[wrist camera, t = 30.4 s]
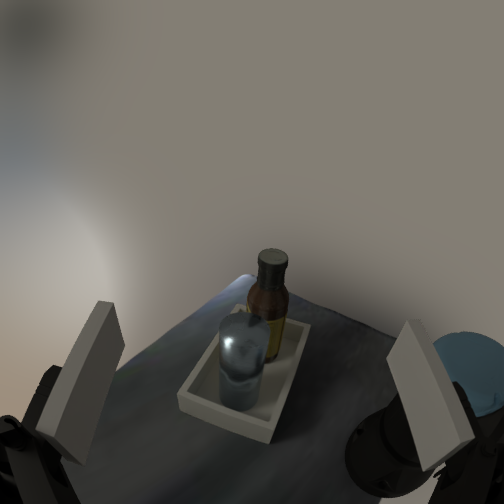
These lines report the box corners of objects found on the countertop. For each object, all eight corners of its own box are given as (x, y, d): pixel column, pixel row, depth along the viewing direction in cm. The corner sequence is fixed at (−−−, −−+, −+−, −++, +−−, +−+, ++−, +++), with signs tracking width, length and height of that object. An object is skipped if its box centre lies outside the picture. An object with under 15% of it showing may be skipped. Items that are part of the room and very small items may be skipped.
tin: (254, 378, 46) (264, 310, 38) (261, 409, 41) (275, 345, 33) (216, 381, 45) (216, 313, 37) (221, 413, 40) (222, 350, 32)
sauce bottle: (257, 334, 55) (270, 238, 45) (285, 350, 52) (307, 254, 42) (234, 353, 50) (242, 253, 40) (264, 372, 47) (281, 273, 37)
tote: (235, 322, 58) (237, 303, 56) (305, 343, 55) (310, 324, 52) (180, 410, 40) (176, 393, 38) (268, 444, 37) (273, 430, 34)
